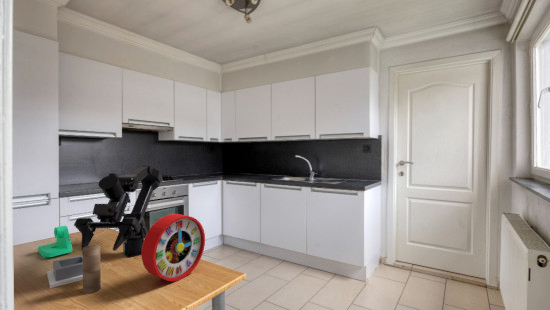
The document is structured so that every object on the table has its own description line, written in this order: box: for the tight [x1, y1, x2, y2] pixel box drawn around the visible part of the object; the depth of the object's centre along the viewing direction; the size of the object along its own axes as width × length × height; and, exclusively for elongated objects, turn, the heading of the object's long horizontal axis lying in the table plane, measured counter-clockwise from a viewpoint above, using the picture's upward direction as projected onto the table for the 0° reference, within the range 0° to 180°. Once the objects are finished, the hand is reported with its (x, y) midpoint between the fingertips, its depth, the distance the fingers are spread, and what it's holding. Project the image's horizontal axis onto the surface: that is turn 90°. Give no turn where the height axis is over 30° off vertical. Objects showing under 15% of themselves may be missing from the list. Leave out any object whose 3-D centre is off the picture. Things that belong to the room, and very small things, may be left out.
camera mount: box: [37, 225, 73, 259], centre depth 112 cm, size 12×8×10 cm, turn 55°
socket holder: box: [46, 254, 83, 289], centre depth 93 cm, size 12×12×4 cm
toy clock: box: [141, 213, 206, 282], centre depth 92 cm, size 20×6×20 cm, turn 147°
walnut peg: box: [81, 244, 102, 295], centre depth 84 cm, size 4×4×12 cm
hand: (98, 250), depth 87 cm, fingers open, 9 cm apart
